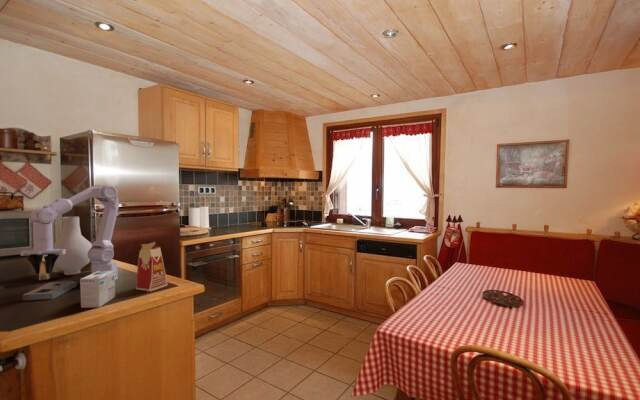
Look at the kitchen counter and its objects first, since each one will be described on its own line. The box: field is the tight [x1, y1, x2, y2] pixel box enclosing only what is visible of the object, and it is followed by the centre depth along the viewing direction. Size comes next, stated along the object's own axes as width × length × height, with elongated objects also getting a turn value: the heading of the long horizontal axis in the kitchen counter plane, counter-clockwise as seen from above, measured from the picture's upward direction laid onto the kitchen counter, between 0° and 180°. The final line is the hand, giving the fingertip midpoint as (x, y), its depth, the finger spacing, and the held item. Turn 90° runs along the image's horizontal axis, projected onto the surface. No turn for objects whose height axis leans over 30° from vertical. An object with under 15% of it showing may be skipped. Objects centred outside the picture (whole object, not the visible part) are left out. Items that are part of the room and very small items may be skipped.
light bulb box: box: [79, 271, 116, 309], centre depth 120 cm, size 11×7×11 cm, turn 5°
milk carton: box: [135, 241, 168, 292], centre depth 137 cm, size 9×9×20 cm
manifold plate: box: [22, 280, 78, 302], centre depth 129 cm, size 10×16×2 cm, turn 10°
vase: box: [53, 216, 93, 276], centre depth 158 cm, size 17×16×28 cm
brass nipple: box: [38, 260, 51, 281], centre depth 125 cm, size 3×3×7 cm
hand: (44, 273), depth 125 cm, fingers closed on brass nipple, 3 cm apart
